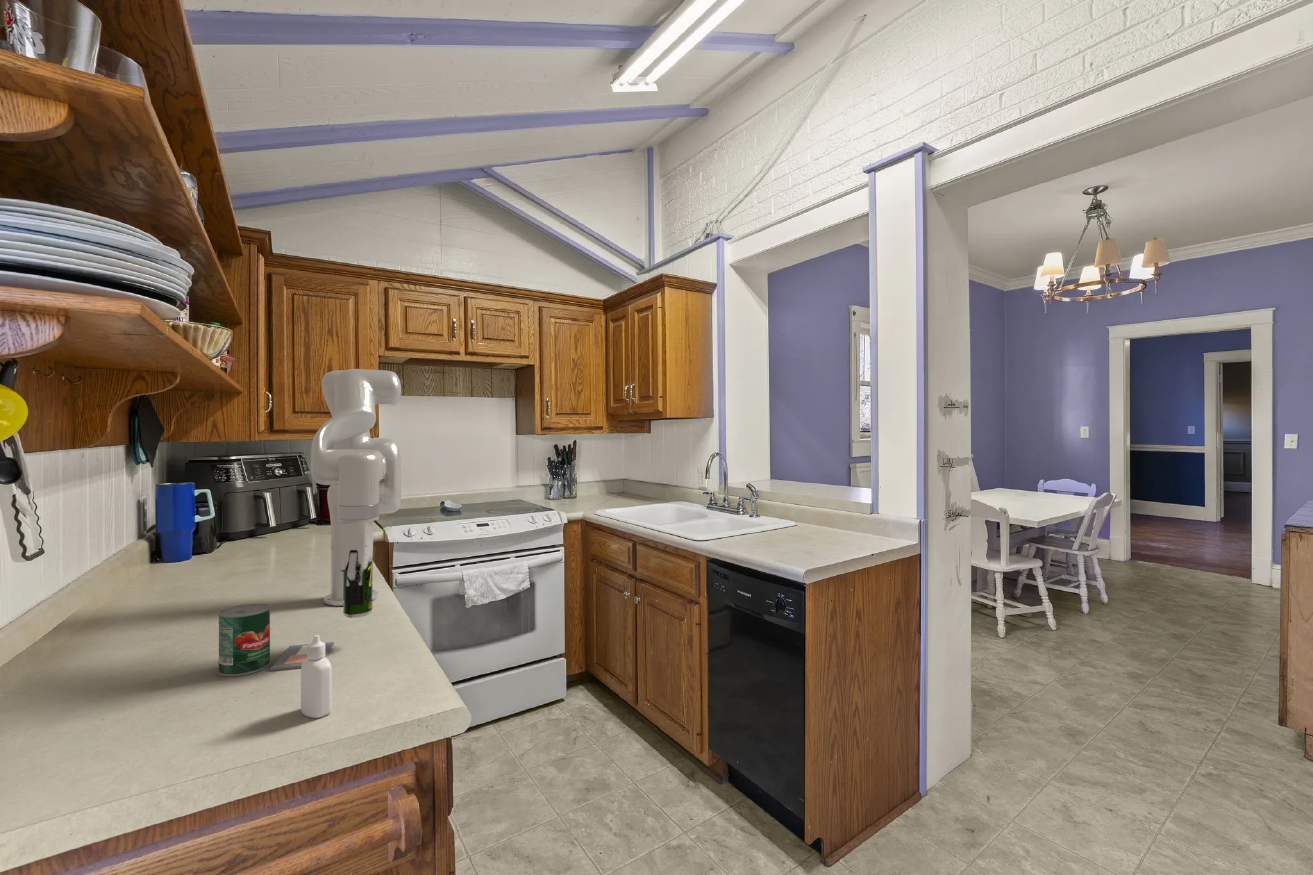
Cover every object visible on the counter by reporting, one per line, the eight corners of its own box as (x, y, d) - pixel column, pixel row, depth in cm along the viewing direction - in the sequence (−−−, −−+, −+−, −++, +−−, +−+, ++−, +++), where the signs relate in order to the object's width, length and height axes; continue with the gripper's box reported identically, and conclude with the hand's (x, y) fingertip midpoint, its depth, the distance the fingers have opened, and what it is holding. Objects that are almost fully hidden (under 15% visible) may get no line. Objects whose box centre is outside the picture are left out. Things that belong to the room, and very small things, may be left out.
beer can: (344, 619, 117) (344, 560, 116) (341, 612, 121) (342, 554, 121) (374, 615, 120) (374, 557, 119) (370, 608, 124) (370, 552, 124)
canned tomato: (234, 660, 112) (234, 603, 112) (278, 659, 113) (278, 602, 113) (208, 677, 104) (208, 616, 104) (255, 676, 105) (255, 615, 105)
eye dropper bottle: (332, 701, 95) (333, 628, 95) (331, 716, 90) (331, 639, 90) (301, 707, 93) (301, 632, 93) (298, 722, 88) (298, 643, 88)
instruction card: (289, 648, 119) (289, 645, 119) (334, 644, 121) (334, 641, 121) (270, 671, 107) (270, 667, 107) (319, 666, 110) (319, 663, 110)
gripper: (346, 506, 127) (346, 589, 127) (328, 520, 110) (327, 615, 111) (384, 506, 129) (383, 587, 130) (371, 519, 113) (371, 612, 113)
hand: (358, 599), depth 120 cm, fingers closed on beer can, 5 cm apart
